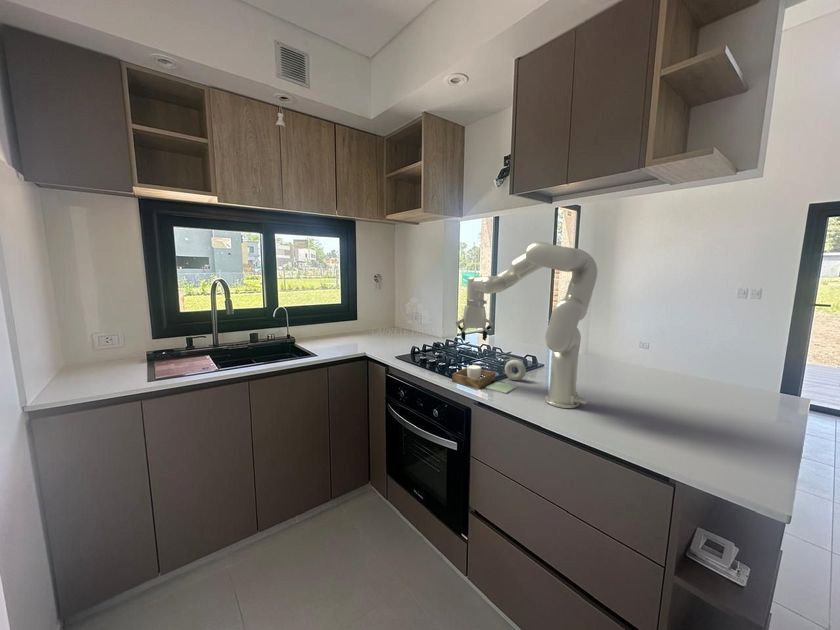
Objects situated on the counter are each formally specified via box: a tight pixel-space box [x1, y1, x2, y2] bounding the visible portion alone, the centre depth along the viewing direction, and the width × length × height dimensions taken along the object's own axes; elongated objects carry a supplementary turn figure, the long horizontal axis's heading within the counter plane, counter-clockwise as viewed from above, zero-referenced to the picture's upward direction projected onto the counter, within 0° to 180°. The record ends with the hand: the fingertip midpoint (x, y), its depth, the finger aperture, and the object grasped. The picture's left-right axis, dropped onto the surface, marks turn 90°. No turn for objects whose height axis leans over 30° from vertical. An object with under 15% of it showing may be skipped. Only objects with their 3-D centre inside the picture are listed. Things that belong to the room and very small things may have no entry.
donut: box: [504, 359, 527, 381], centre depth 160 cm, size 10×4×10 cm, turn 58°
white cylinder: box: [466, 364, 482, 379], centre depth 159 cm, size 7×7×7 cm
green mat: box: [484, 381, 517, 395], centre depth 150 cm, size 10×10×1 cm
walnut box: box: [451, 367, 496, 390], centre depth 159 cm, size 15×15×4 cm
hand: (473, 339), depth 157 cm, fingers open, 9 cm apart
